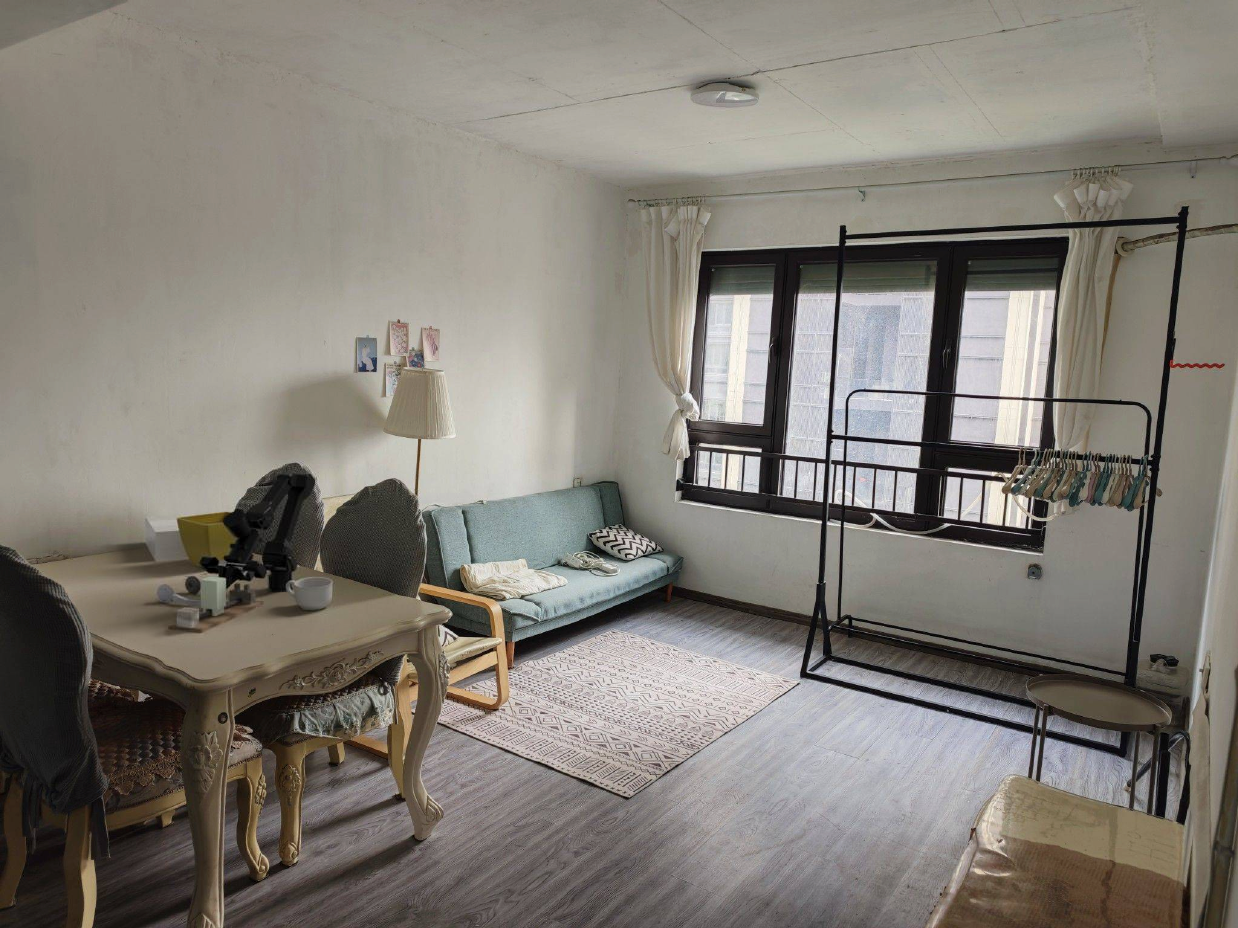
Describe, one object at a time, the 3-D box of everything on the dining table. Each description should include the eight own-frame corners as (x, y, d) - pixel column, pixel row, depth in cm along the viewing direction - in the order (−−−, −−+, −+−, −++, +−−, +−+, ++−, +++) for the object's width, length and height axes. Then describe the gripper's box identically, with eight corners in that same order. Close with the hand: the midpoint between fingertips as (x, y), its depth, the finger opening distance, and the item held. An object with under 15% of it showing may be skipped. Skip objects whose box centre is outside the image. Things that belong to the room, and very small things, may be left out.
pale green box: (210, 610, 241) (209, 576, 240) (226, 612, 241) (225, 578, 239) (201, 614, 238) (200, 579, 236) (217, 616, 237) (216, 581, 235)
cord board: (233, 601, 256) (233, 580, 255) (263, 604, 254) (263, 583, 253) (167, 629, 228) (167, 605, 227) (201, 632, 226) (200, 609, 226)
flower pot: (175, 564, 296) (175, 517, 294) (227, 555, 312) (227, 510, 310) (205, 573, 286) (205, 524, 284) (257, 564, 301) (257, 518, 299)
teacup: (340, 605, 257) (340, 579, 256) (316, 614, 247) (316, 587, 246) (302, 599, 261) (302, 573, 260) (277, 608, 251) (277, 581, 250)
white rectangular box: (145, 544, 325) (144, 516, 324) (176, 541, 331) (176, 514, 330) (155, 561, 299) (155, 531, 298) (189, 559, 305) (189, 529, 304)
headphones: (140, 597, 252) (195, 616, 247) (142, 579, 251) (198, 598, 246) (184, 584, 269) (237, 601, 264) (186, 566, 268) (239, 583, 263)
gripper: (283, 563, 255) (262, 609, 246) (227, 558, 259) (204, 603, 249) (268, 543, 247) (245, 589, 237) (210, 538, 250) (185, 583, 241)
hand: (220, 592), depth 241 cm, fingers closed
